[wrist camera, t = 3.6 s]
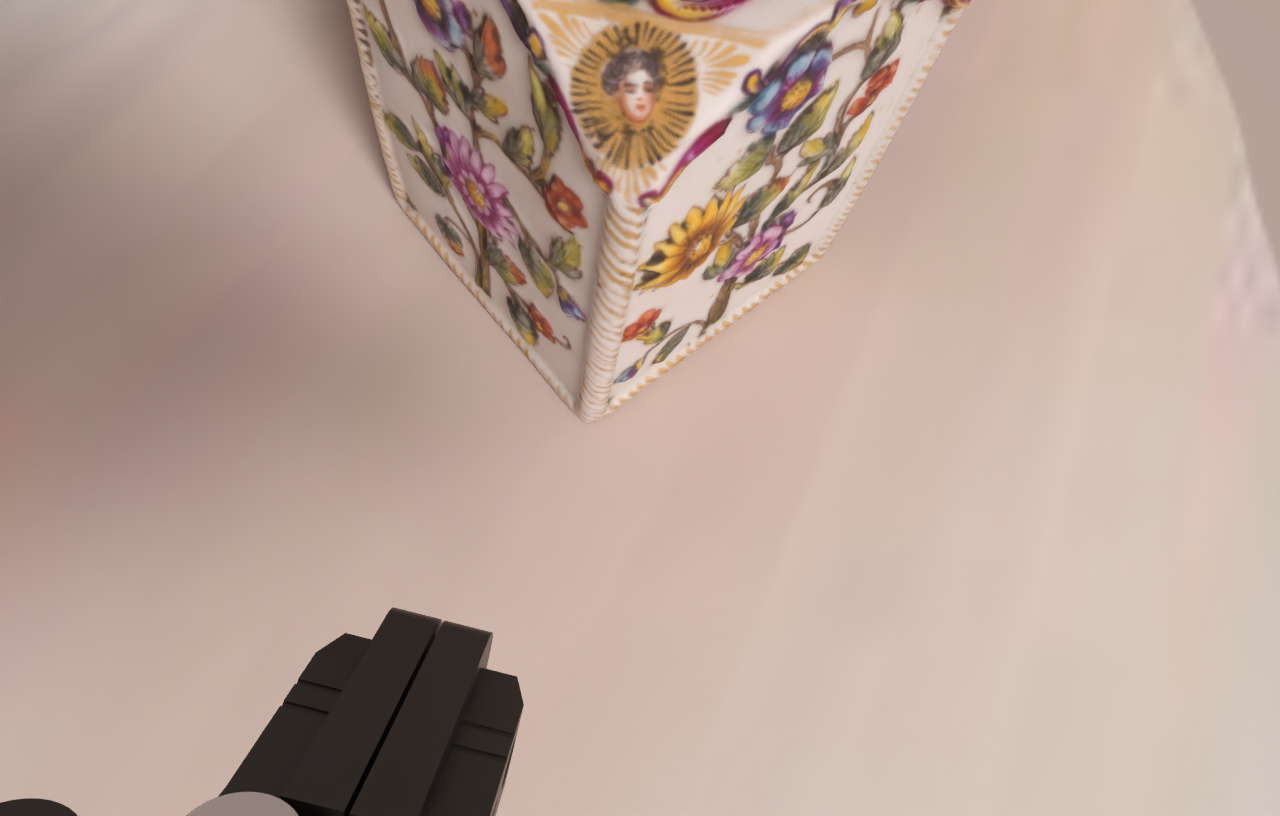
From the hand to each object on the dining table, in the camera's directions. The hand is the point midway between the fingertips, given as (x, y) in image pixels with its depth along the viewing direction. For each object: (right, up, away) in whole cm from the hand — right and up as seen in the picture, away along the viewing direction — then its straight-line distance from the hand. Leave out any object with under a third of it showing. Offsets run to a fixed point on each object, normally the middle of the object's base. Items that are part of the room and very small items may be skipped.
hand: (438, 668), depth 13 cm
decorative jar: (+2, +10, +21) cm, 23 cm away
